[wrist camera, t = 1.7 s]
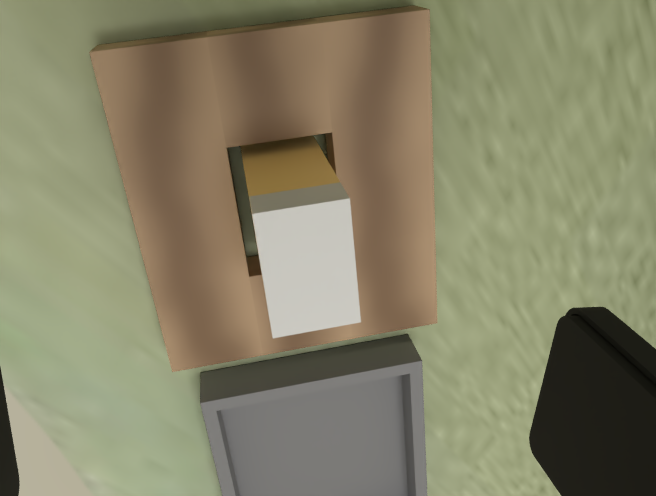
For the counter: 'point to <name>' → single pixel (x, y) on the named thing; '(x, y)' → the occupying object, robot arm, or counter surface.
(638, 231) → the counter surface
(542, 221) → the counter surface
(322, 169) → the block
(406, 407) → the parts tray
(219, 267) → the wooden plate with hole
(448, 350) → the counter surface
